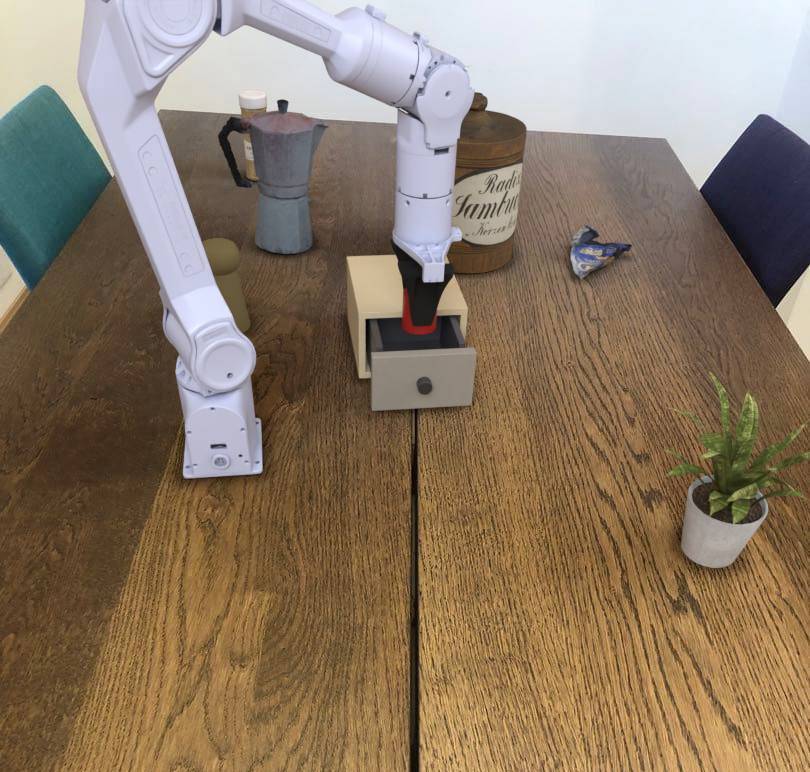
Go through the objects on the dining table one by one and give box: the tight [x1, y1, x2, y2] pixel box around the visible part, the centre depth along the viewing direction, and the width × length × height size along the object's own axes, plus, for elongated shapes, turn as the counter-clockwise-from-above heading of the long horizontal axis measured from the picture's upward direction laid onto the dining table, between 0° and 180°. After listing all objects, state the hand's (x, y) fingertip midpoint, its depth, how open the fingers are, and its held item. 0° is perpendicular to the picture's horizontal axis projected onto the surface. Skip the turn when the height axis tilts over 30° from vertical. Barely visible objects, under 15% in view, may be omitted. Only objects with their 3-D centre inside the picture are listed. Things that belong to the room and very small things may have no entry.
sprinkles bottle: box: [238, 89, 268, 182], centre depth 139 cm, size 5×5×14 cm
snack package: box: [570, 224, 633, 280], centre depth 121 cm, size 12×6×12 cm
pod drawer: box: [366, 315, 478, 412], centre depth 94 cm, size 15×11×7 cm
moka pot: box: [217, 98, 329, 255], centre depth 117 cm, size 10×15×20 cm, turn 112°
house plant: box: [658, 370, 810, 569], centre depth 73 cm, size 14×14×16 cm
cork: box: [201, 237, 252, 334], centre depth 102 cm, size 6×6×11 cm
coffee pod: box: [402, 288, 437, 335], centre depth 89 cm, size 4×4×4 cm
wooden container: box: [446, 91, 528, 275], centre depth 116 cm, size 15×15×22 cm
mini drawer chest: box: [346, 254, 469, 379], centre depth 101 cm, size 15×13×9 cm
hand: (418, 314), depth 89 cm, fingers closed on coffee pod, 4 cm apart
